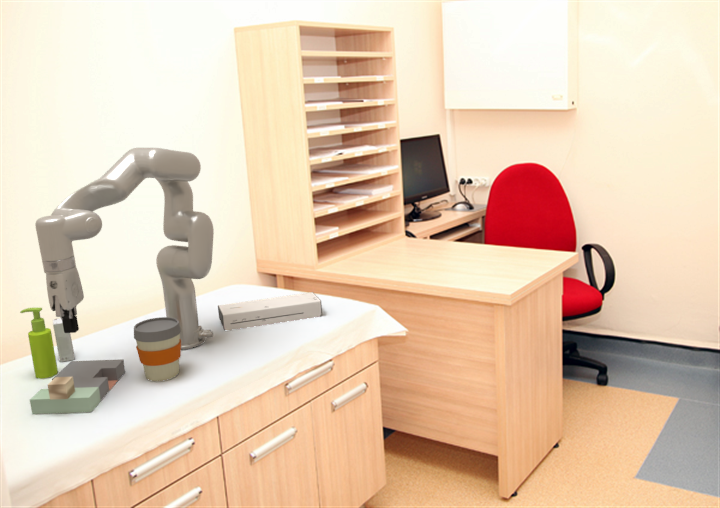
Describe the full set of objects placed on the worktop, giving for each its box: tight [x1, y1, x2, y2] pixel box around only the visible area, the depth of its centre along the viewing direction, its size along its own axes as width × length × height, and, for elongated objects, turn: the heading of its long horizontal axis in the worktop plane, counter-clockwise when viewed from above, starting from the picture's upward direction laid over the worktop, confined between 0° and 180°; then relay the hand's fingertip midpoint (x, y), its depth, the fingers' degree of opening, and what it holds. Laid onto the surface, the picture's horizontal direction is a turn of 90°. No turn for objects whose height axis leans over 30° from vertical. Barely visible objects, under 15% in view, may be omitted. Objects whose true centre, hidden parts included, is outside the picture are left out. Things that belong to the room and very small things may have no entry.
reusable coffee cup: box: [133, 316, 182, 382], centre depth 183 cm, size 13×12×15 cm
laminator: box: [217, 291, 323, 331], centre depth 228 cm, size 34×12×6 cm, turn 109°
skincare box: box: [52, 317, 76, 363], centre depth 199 cm, size 6×4×12 cm
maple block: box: [47, 376, 75, 400], centre depth 165 cm, size 4×4×4 cm
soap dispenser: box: [19, 307, 59, 380], centre depth 186 cm, size 6×7×20 cm
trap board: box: [29, 358, 126, 415], centre depth 176 cm, size 15×24×4 cm, turn 0°
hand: (71, 331), depth 171 cm, fingers closed
